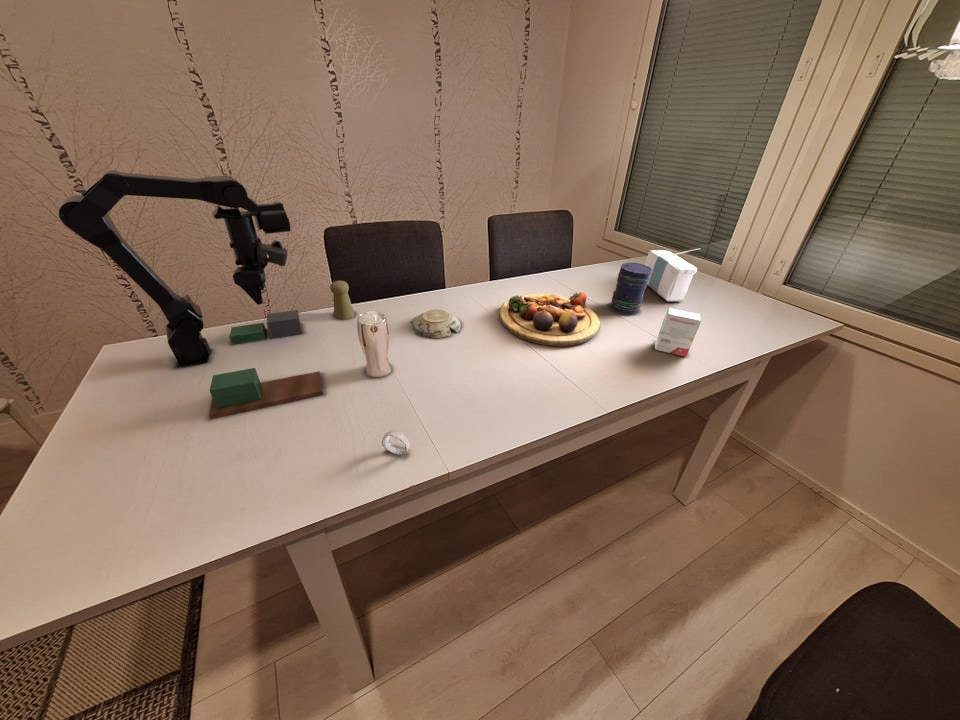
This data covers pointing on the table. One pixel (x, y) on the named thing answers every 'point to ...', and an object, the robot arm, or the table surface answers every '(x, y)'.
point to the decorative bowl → (436, 324)
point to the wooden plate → (550, 319)
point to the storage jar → (630, 288)
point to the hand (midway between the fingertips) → (260, 296)
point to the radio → (669, 274)
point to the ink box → (677, 332)
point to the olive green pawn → (341, 300)
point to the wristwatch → (397, 435)
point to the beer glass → (374, 342)
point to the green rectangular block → (248, 333)
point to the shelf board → (276, 393)
